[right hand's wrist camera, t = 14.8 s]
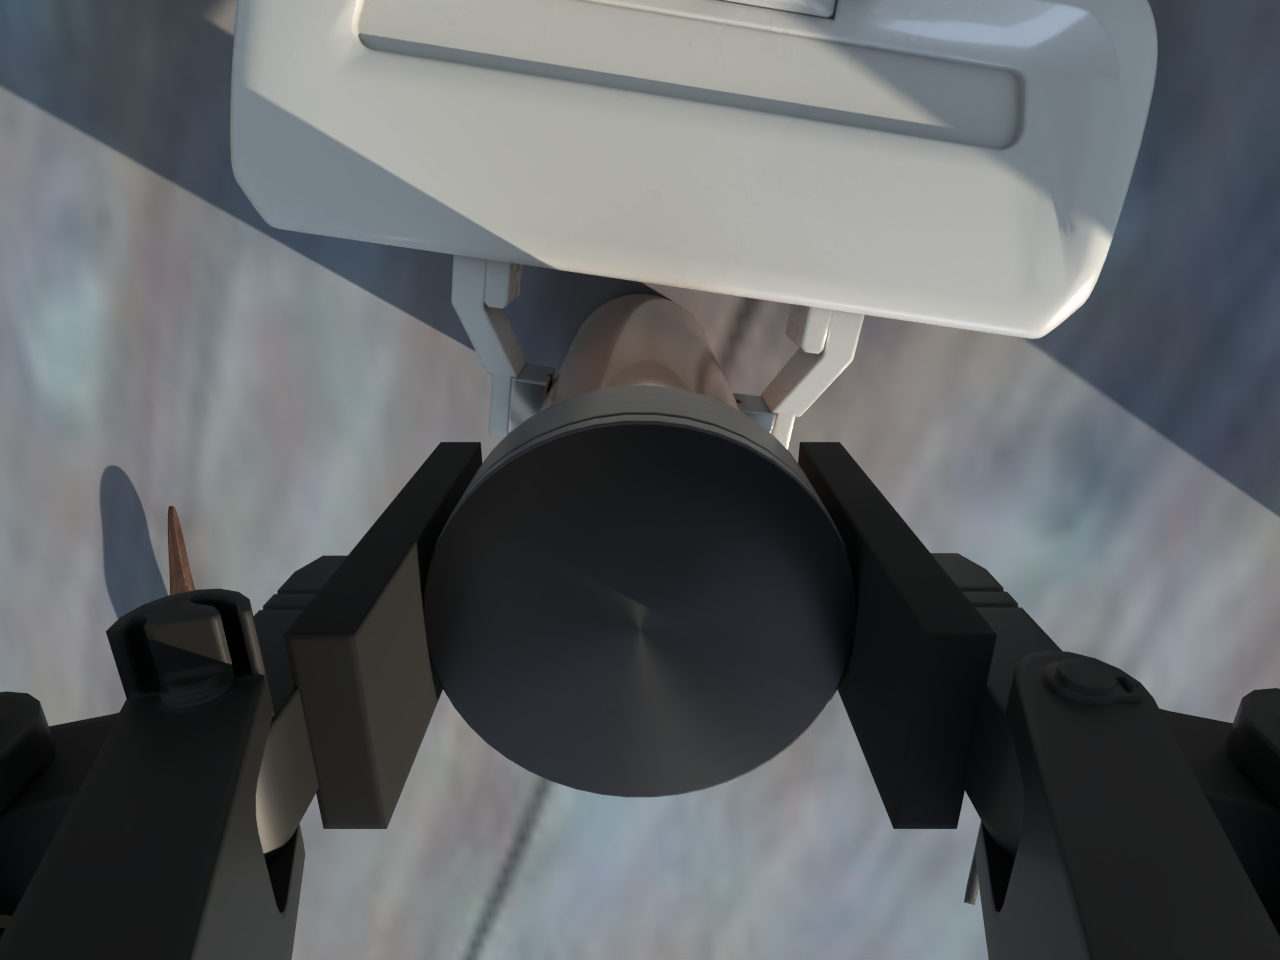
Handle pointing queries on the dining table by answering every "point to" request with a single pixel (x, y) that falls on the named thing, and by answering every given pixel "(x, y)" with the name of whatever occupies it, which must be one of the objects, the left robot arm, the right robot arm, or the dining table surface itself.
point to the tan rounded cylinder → (640, 352)
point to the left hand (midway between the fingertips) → (637, 450)
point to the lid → (640, 595)
